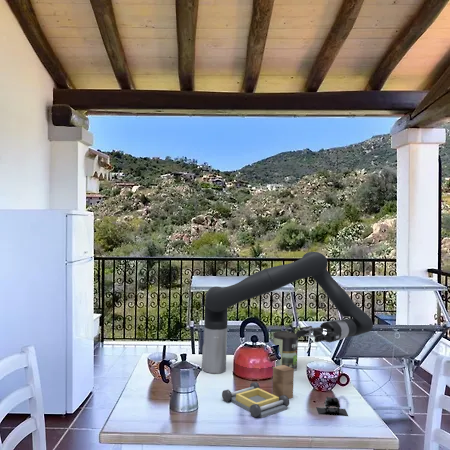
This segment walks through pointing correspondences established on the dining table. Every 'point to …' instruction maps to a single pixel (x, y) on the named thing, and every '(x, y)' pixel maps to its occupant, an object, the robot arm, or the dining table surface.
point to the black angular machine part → (331, 411)
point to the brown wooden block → (283, 381)
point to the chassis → (257, 400)
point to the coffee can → (287, 348)
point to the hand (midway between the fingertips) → (306, 336)
